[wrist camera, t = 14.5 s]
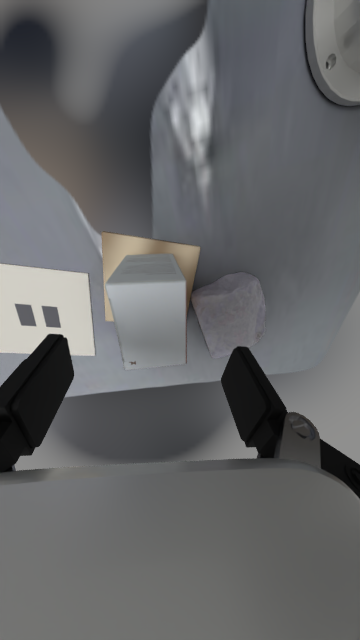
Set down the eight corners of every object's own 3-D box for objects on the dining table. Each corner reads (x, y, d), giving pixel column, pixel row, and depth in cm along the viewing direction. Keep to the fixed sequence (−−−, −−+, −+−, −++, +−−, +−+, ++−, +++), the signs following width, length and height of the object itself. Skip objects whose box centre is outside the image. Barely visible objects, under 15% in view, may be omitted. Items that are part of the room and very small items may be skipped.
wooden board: (198, 246, 22) (200, 247, 21) (183, 322, 27) (184, 326, 27) (103, 231, 20) (101, 232, 19) (107, 317, 25) (105, 320, 25)
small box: (175, 312, 25) (187, 366, 16) (134, 315, 25) (123, 373, 16) (173, 251, 21) (189, 279, 12) (124, 253, 21) (102, 284, 12)
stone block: (242, 261, 26) (181, 293, 25) (267, 268, 22) (194, 306, 21) (253, 324, 32) (204, 350, 31) (273, 338, 28) (218, 369, 27)
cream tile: (88, 273, 22) (87, 273, 22) (95, 354, 28) (94, 355, 28) (-41, 258, 20) (-43, 259, 19) (-2, 351, 26) (-3, 352, 26)
